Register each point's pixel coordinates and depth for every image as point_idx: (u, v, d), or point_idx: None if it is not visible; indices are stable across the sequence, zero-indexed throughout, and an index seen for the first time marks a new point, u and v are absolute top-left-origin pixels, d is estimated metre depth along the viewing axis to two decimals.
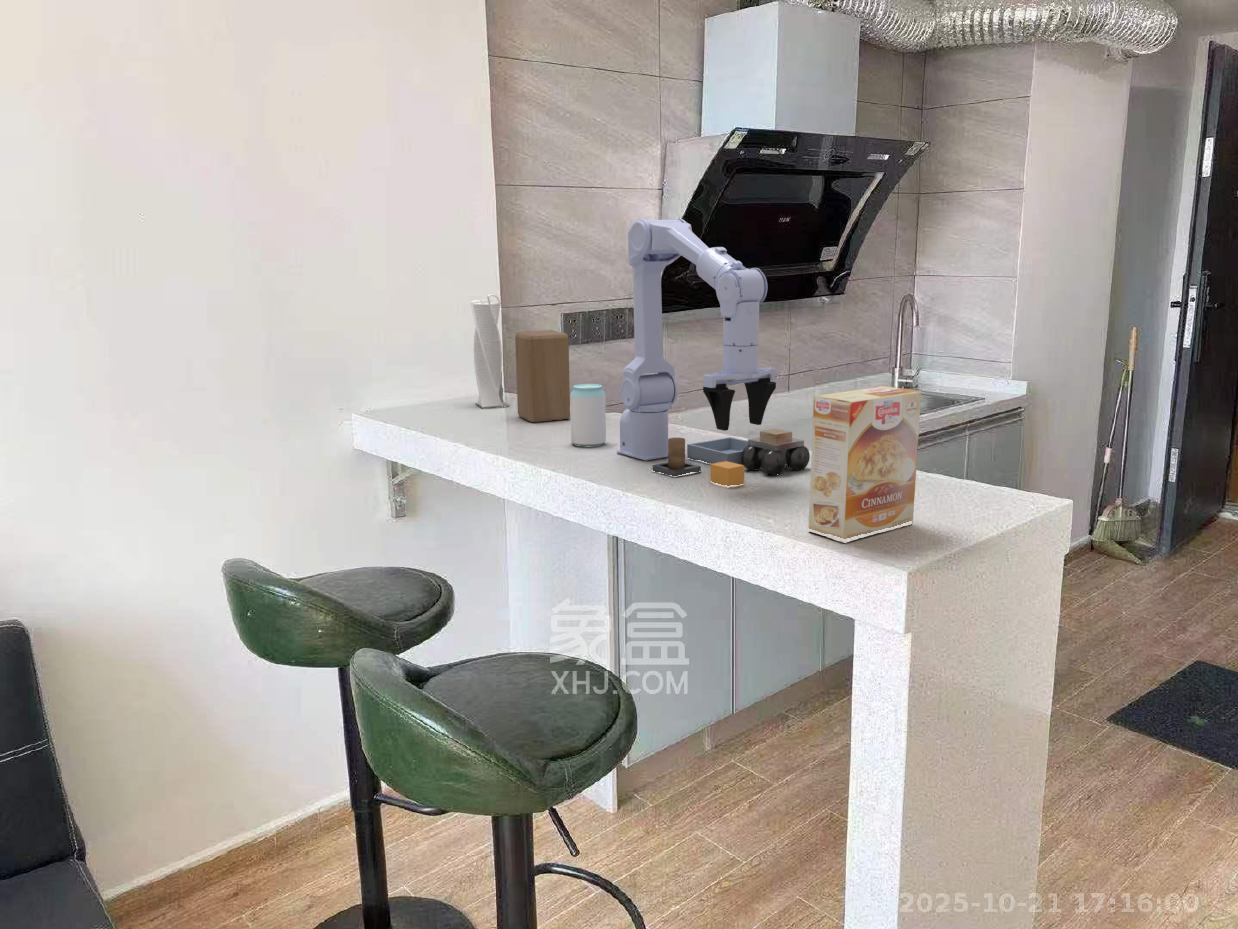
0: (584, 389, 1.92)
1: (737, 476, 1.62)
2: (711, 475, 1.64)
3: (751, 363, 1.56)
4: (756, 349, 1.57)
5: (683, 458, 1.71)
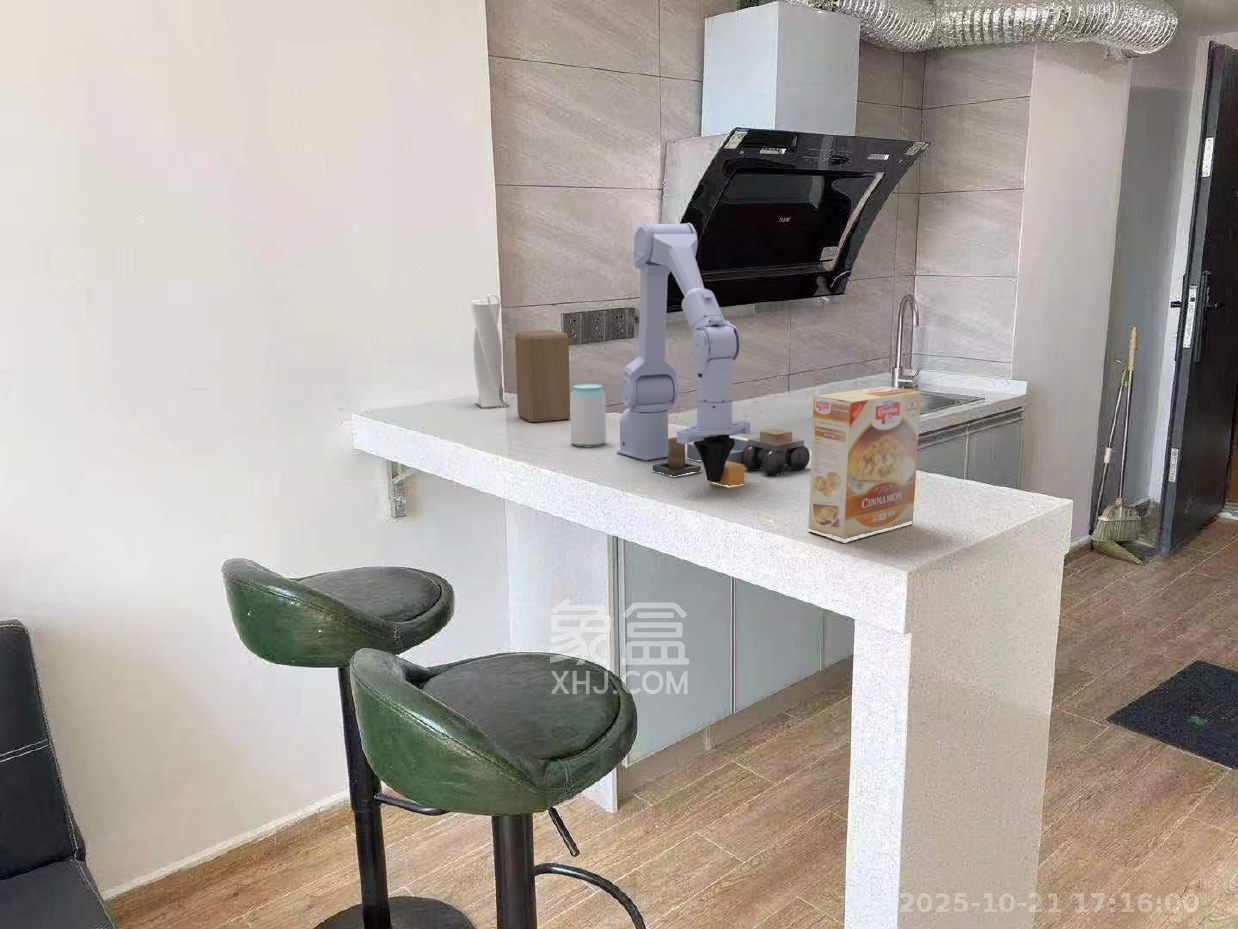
0: (584, 389, 1.92)
1: (738, 475, 1.62)
2: None
3: (725, 419, 1.57)
4: (730, 405, 1.57)
5: (683, 458, 1.71)
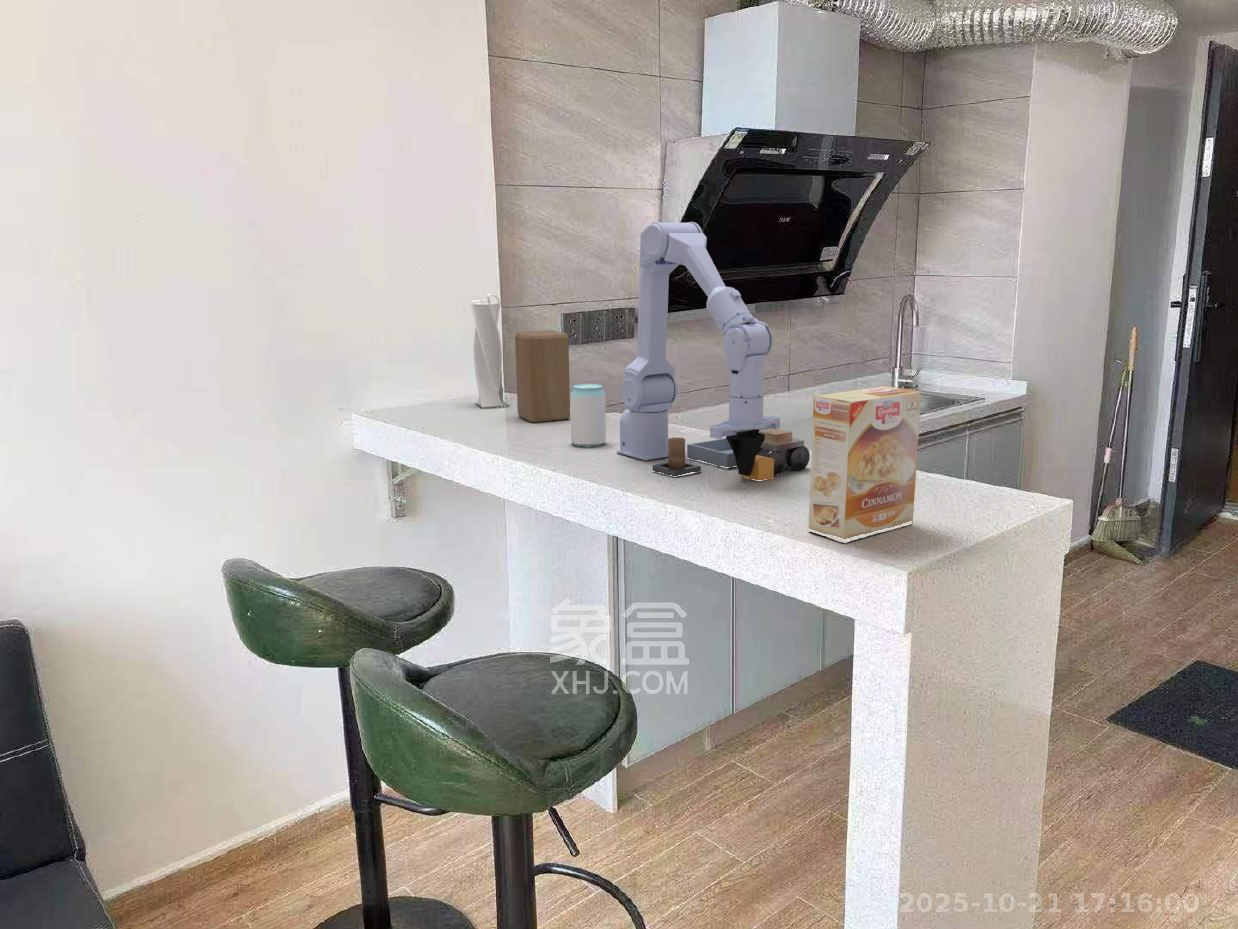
0: (584, 389, 1.92)
1: (767, 469, 1.66)
2: None
3: (756, 414, 1.61)
4: (761, 400, 1.61)
5: (683, 458, 1.71)
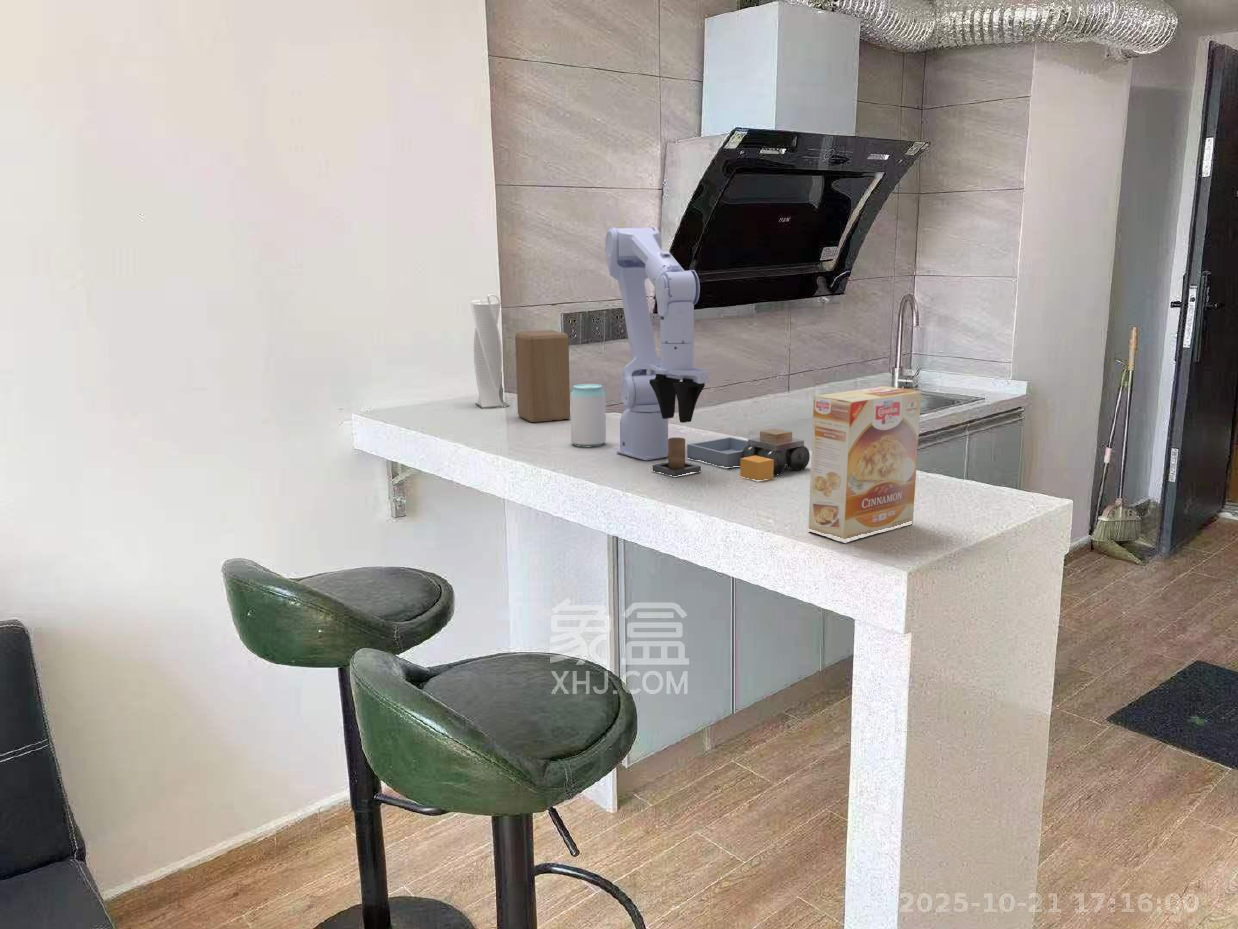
0: (584, 389, 1.92)
1: (767, 470, 1.66)
2: (741, 469, 1.68)
3: (663, 359, 1.66)
4: (668, 347, 1.65)
5: (683, 458, 1.71)
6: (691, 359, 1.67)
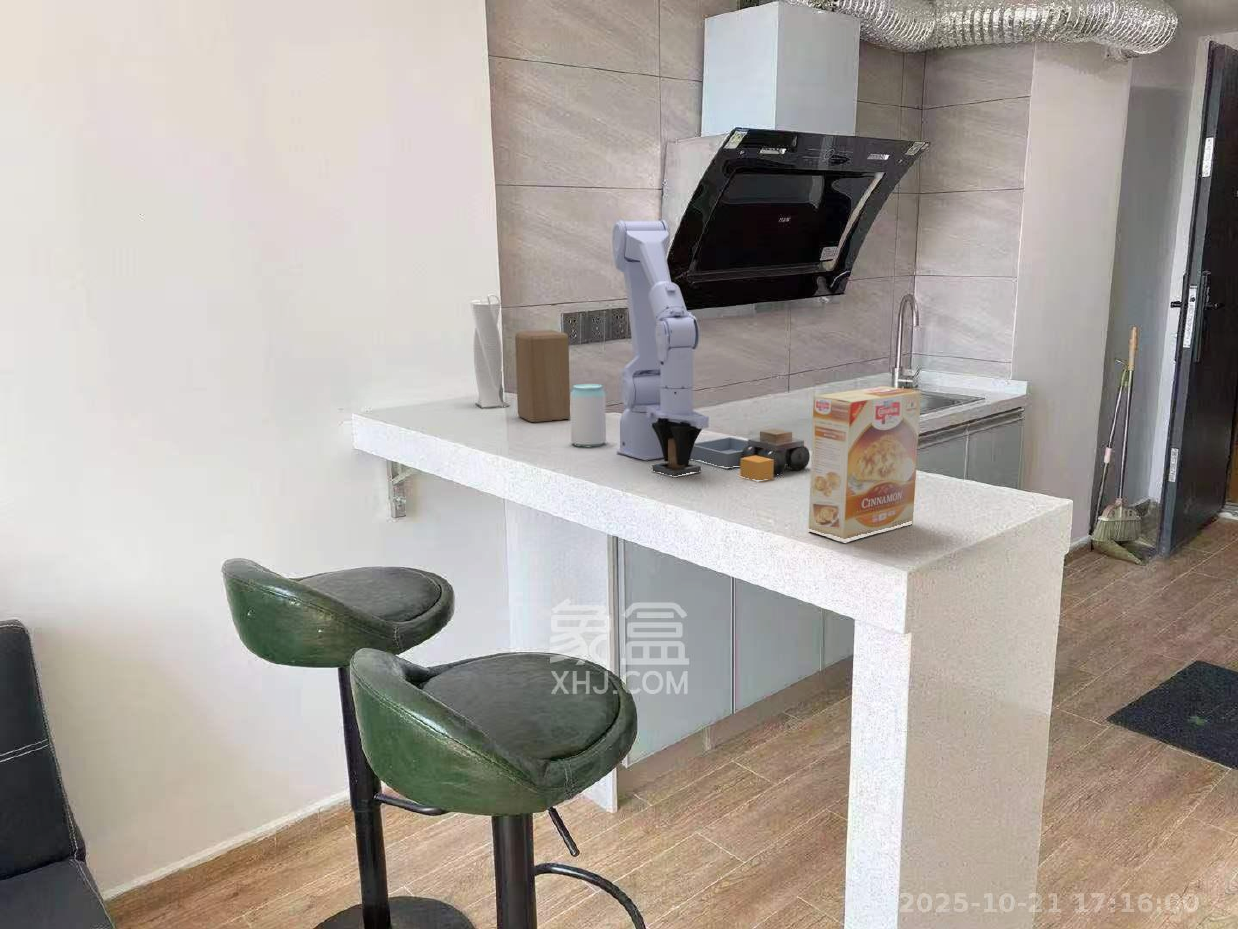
0: (584, 389, 1.92)
1: (767, 470, 1.66)
2: (741, 469, 1.68)
3: (663, 403, 1.68)
4: (668, 392, 1.67)
5: None
6: (691, 403, 1.68)
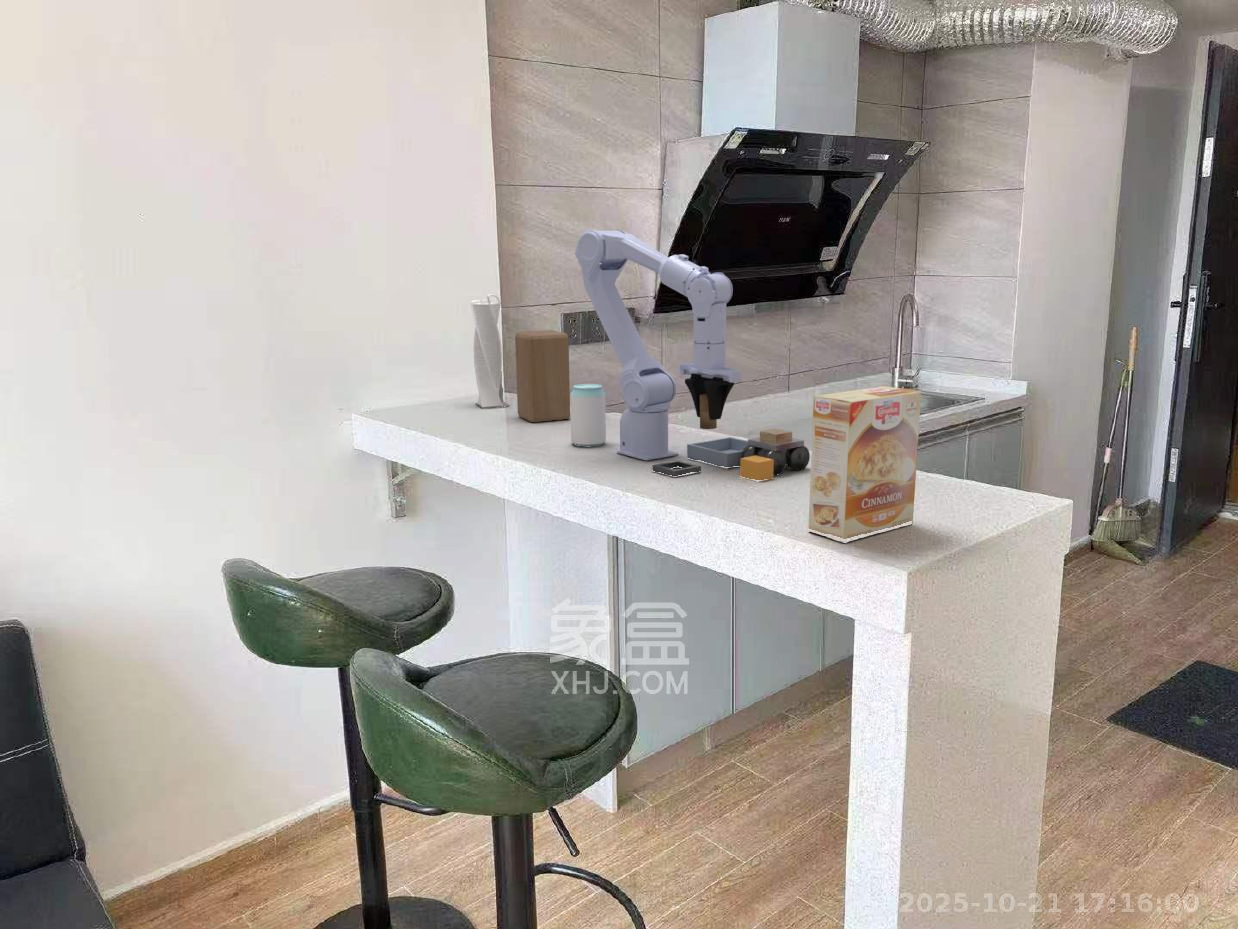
0: (584, 389, 1.92)
1: (767, 470, 1.66)
2: (741, 469, 1.68)
3: (696, 359, 1.72)
4: (701, 347, 1.71)
5: None
6: (723, 359, 1.72)
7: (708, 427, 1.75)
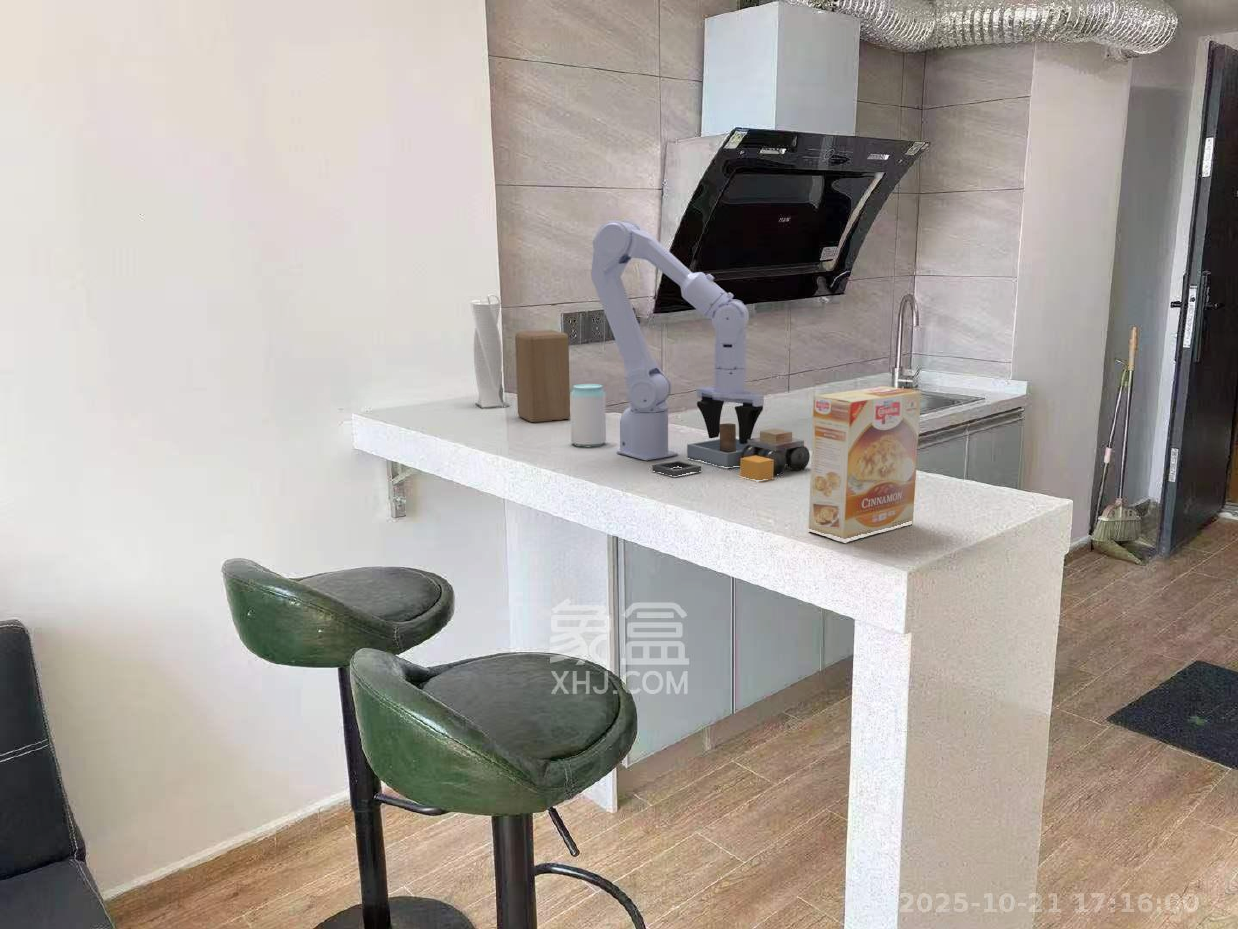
0: (584, 389, 1.92)
1: (767, 470, 1.66)
2: (741, 469, 1.68)
3: (718, 383, 1.77)
4: (724, 372, 1.76)
5: (734, 442, 1.80)
6: (744, 383, 1.77)
7: None
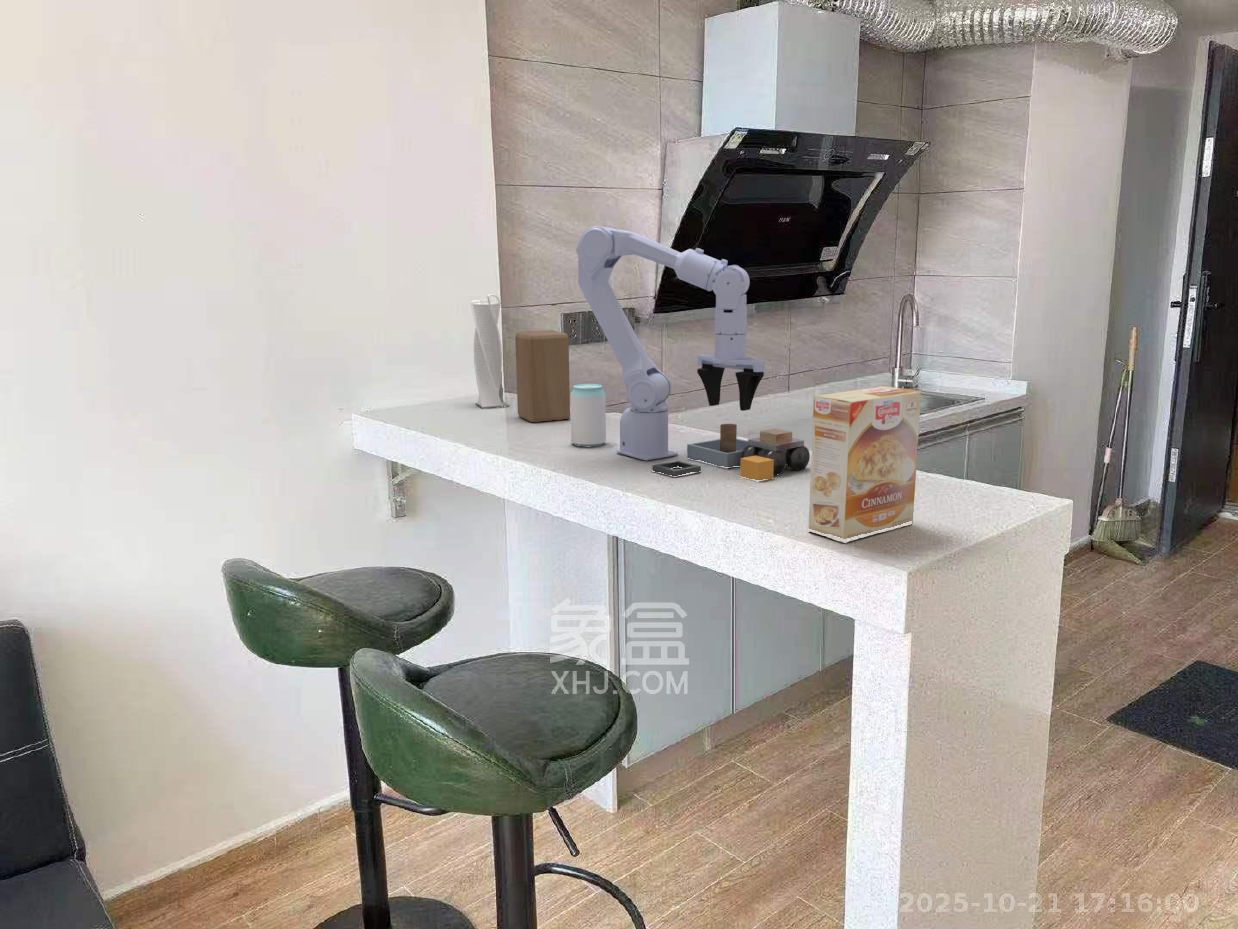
0: (584, 389, 1.92)
1: (767, 470, 1.66)
2: (741, 469, 1.68)
3: (719, 349, 1.75)
4: (724, 338, 1.74)
5: (735, 442, 1.80)
6: (745, 349, 1.76)
7: None
